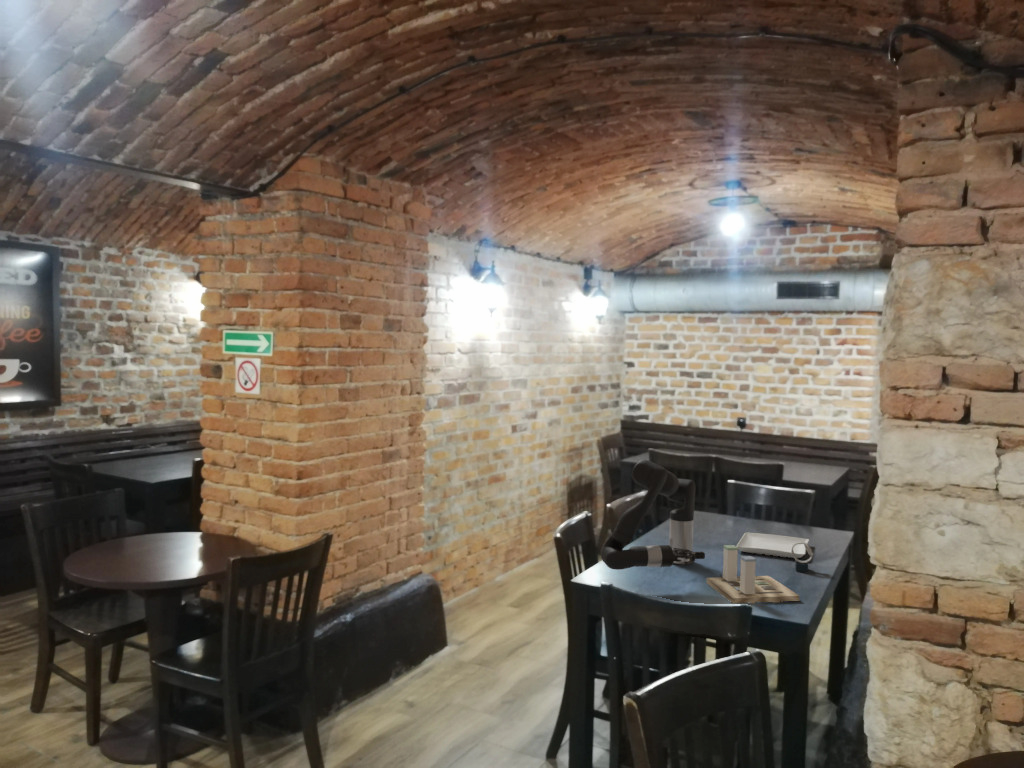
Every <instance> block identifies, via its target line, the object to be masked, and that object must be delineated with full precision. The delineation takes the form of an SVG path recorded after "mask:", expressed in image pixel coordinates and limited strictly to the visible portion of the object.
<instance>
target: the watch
mask: <svg viewBox="0 0 1024 768" xmlns="http://www.w3.org/2000/svg"><path fill="white" fill-rule="evenodd" d="M797 544H804V546H805V548H806V553H808V555H809V558H807V559H806V560H802V559H799V558H797V557H796V556H795V554H794V551H793V548H794V546H795V545H797ZM791 551H792V555H793V557H794V558H793V559H794V560H795V562H794V563H795V564H794V568H795V569H796V570H795V572H796V571H797V573H805V572H808V573H809V563H808V562H811V560H812V559H813V556H814V552H813V550H812V548H811V546H810V544H809V542H808V543H805V542H802V541H800V542H796V543H795V544H793V546H792V550H791Z"/></svg>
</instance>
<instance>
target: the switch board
mask: <svg viewBox="0 0 1024 768" xmlns="http://www.w3.org/2000/svg"><path fill="white" fill-rule="evenodd" d="M706 584H707V585H708V586H710V588H712V589H713V590H714V591H715V592H716V593H718V592H719V593H720V594H719V593H718V594H719V595H720V596H722V595H723V596H724V597H725V599H726V598H727V599H728V600H729V601H731V602H732V603H748V602H751V603H750V604H756V603H755V602H773V603H784V602H783V601H799V602H800V595H799V594H798V593H796V592H794V591H793V590H792V589H789V588H788V587H787V586H785V585H784V584H782V583H780V582H779V581H777V580H776V579H774V578H773V577H771V576H770V575H755V594H744V593H742V592H741V591H740V590H739V587H740V576H737V581H726V580H725V579H724V578H722V576H720V577H719V576H717V577H706ZM723 596H722V597H723ZM724 597H723V598H724ZM727 599H726V600H727ZM728 600H727V601H728ZM729 601H728V602H729ZM780 601H781V602H780ZM731 602H730V603H731ZM732 603H731V604H732ZM748 604H749V603H748Z"/></svg>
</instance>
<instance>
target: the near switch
mask: <svg viewBox="0 0 1024 768" xmlns="http://www.w3.org/2000/svg"><path fill="white" fill-rule="evenodd" d="M756 562H757V558H755V557H754V556H752V555H741V556H740V576H739V577H740V587H739V590H740V591H741V592H742V593H744V594H755V576H756V564H757V563H756Z"/></svg>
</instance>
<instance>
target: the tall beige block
mask: <svg viewBox="0 0 1024 768" xmlns="http://www.w3.org/2000/svg"><path fill="white" fill-rule="evenodd" d="M736 546H737V545H734V544H728V545H727V544H725V545H724V544H723V546H722V547H723V564H722V565H723V568H722V576H721V577H722V578H724V579H725V580H726V581H737V577H738V575H737V574H738V554H739V553H738V550H739V549H738V548H737V547H736Z"/></svg>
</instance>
